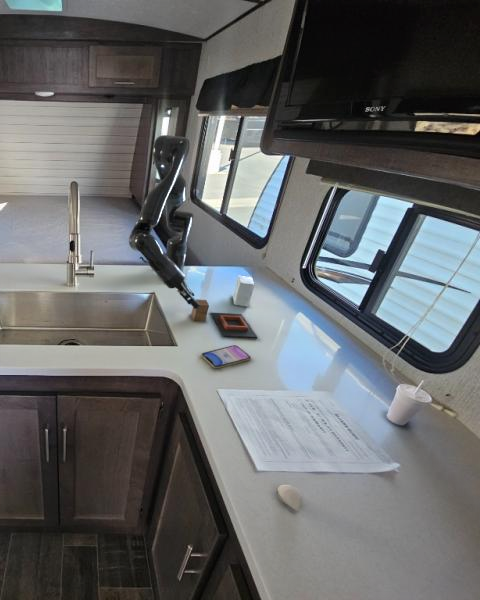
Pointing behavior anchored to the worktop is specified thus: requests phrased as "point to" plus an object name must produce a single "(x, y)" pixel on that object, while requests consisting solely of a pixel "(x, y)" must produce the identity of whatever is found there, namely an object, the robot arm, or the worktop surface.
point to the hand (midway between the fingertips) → (194, 301)
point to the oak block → (200, 311)
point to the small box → (243, 290)
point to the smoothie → (407, 403)
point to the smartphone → (225, 356)
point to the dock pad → (233, 325)
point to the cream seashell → (290, 496)
